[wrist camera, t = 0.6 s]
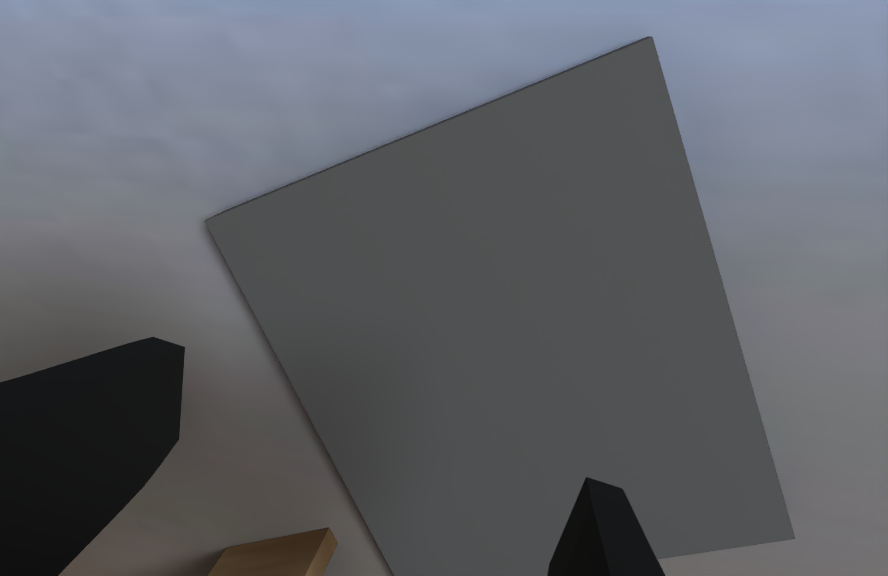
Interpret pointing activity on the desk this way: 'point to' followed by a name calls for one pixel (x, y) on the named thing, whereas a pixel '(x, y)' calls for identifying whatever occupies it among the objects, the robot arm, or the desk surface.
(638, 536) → the robot arm
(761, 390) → the desk surface
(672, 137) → the charcoal mat
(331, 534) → the oak stool
